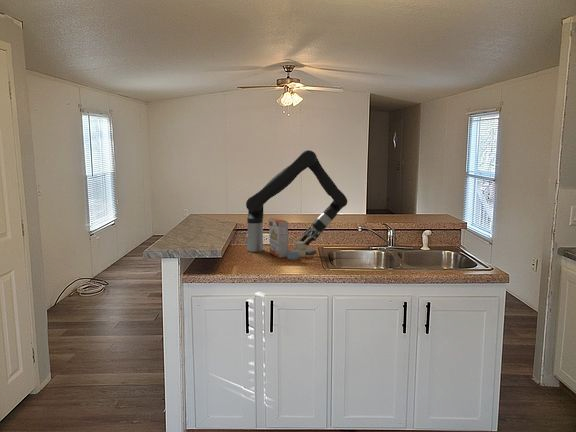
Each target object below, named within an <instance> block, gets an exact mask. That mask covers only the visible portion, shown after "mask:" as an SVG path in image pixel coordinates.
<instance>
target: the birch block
mask: <svg viewBox="0 0 576 432" xmlns="http://www.w3.org/2000/svg"><path fill="white" fill-rule="evenodd" d="M305 242H306V241H304V242H303V241H301V242H300V241H294V249H293V250H296V251H298V252H299V258H306V256H307V255H306V249H307V248H306V246H307V245H306V244H305Z"/></svg>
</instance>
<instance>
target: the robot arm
mask: <svg viewBox="0 0 576 432" xmlns="http://www.w3.org/2000/svg"><path fill="white" fill-rule="evenodd" d="M307 168H308V169H309V170H310V171H311V172H312V173H313V174H314V176H315V178H316V179H317V181H318V183H319V184H320V186H321V188H322V189H323V190H324V191H325V193H326V194H327V195H328V196H329V197H331V199H332V202H331V203H330V204H329V205H328V206H327V207H326V208H325V210H323V212H322V213H321V214H320V215H318V217H317V218H316V219H315V220H314V221H313V222H312V223H311V226H312V227H311V226H309V227H308V228H307V229H306V230H305V231H304V232H303V233H302V235H303V236H302V237H301V238H300V239H299V242H301V241H303V242H305V244H306V246H307V247H308V246H309V245H310V244H311V243H312V242H313V241H314V242H315V241H316V240H317V239H318V238H319V237H320V235H321V233H323V232H324V231H325V229H327V228H328V226H329V225H330V224H331V222H332V221H333V220H334V219H335V218H336V216H337V215H338V213H339V212H341V211H342V209H343V208H344V207H346V206H347V205H348V199H347V196H346V195H345V194H344V192H342V191H341V189H339V188H338V186H337V185H336V183H335V182H334V181H333V179H332V178H331V176H330V175H329V174H328V173H327V171H326V170H325V169H324V168H323V166H322V164H321V163H320V161H319V159H318V156H317V154H316V153H315V152H314V151H313V150H310V149H308V150H304V151H302V153H300V154H299V156H298V157H297V158H296V159H295V160H294V161H293V162H292V163H291V164H289V165H288V166H286V167H285V168H283V169H282V170H281V171H279V172H278V173H277V174H276V175H274V177H272V178H271V179H270V180H269V181H268V182H267V183H266V184H265V185H264V186H263V187H262V188H261V189H260V190H259V191H257V193H255V194H253V195H252V196H250V197H248V198H247V200H246V203H245V206H246V209H247V210H248V211H247V212H248V213H247V214H248V215H247V222H246V223H247V234H246V237H245V240H246V251H248V252H252V253H253V252H254V253H255V252H263V251H264V229H263V228H264V205H265V204H266V203H267V202H268V201H269V200H270V199H271V198H273V197H275V196H276V195H278V194H280V193H281V192H282V191H284V190H285V189H286V188H287V187H288V186H289V185H291V183H292V182H294V180H295V179H296V178H297V177H298V176H299V175H300V174H301V173H302V172H304V171H305V170H307Z"/></svg>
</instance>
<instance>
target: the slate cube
mask: <svg viewBox="0 0 576 432" xmlns="http://www.w3.org/2000/svg"><path fill="white" fill-rule="evenodd" d="M299 258H300V257H299V252H298V251H296V250H294V249H291V250H288V257H287V260H293V261H294V260H298V259H299Z"/></svg>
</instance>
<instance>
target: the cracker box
mask: <svg viewBox="0 0 576 432" xmlns="http://www.w3.org/2000/svg"><path fill="white" fill-rule="evenodd" d="M268 222H269V224H268V225H269V227H268V229H269V254H271V255H273V256H274V257H276V258H278V259H284V258H288V251H289V238H288V237H289V234H288V233H289V232H288V231H289V230H288V229H289V228H288V227H289V226H288V222H289V221H287V220H284V219H281V218H278V217H277V218H275V217H274V218H269V219H268Z"/></svg>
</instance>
